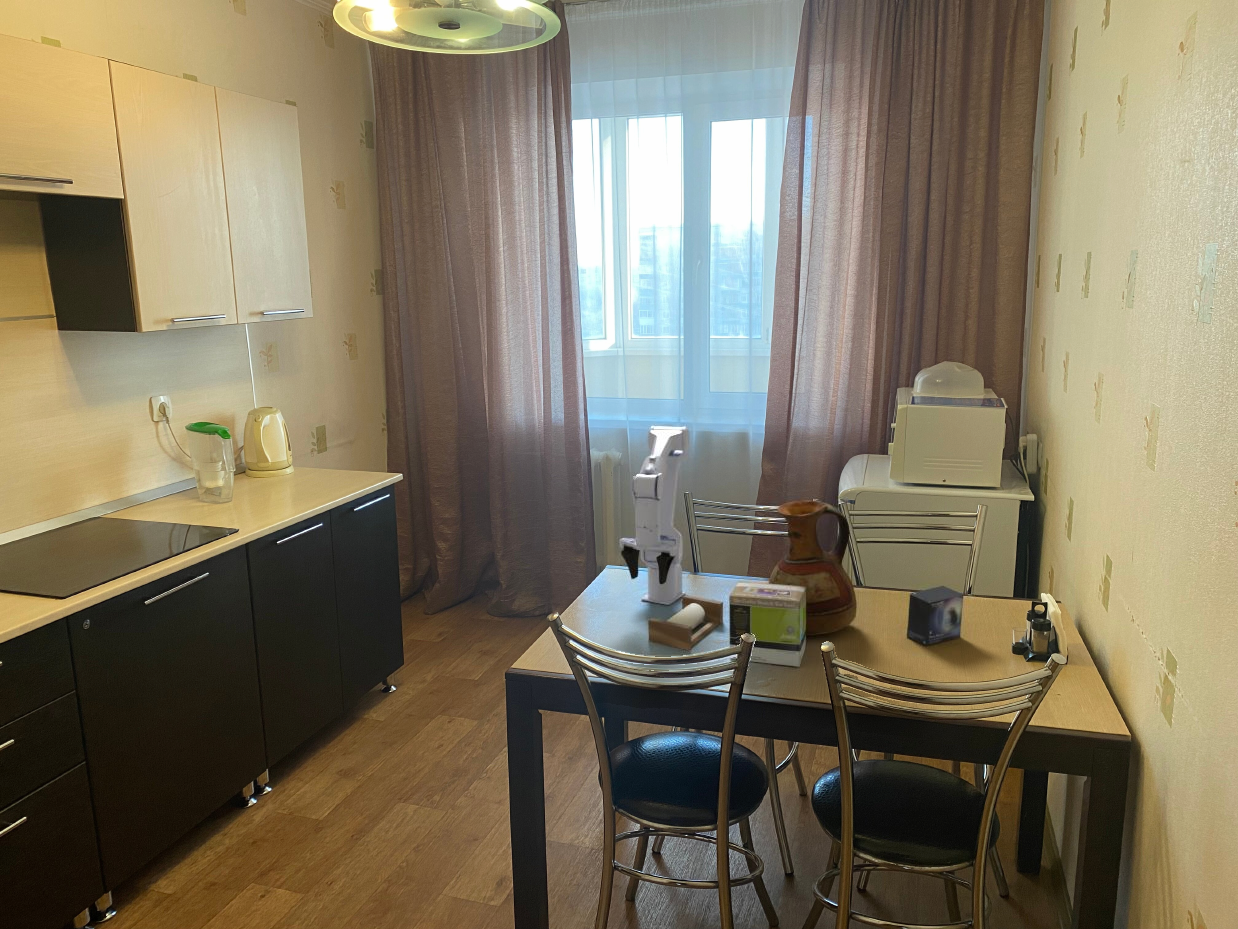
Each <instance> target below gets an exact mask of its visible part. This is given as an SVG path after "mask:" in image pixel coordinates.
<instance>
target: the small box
mask: <svg viewBox="0 0 1238 929" xmlns="http://www.w3.org/2000/svg"><path fill="white" fill-rule="evenodd" d="M964 596H965V595H964V593H961V592H959V591H957V590H955V589H951V588H949V587H948V586H944V585H941V586H937V587H932V588H928V589H924V590H920V591H915V592H911V593H909V602H908V617H907V618H908V619H907V629H906V630H907V631H906V638H909V639H911V640H913V641H915V642H917V643H918V644H921V645H923V646H925V647H928V646H933V645H936V644H940V643H943V642H948V641H951V640H955V639H960V638H961V631H962V630H961V629H962V618H963V617H962V616H963V605H964ZM959 637H960V638H959Z"/></svg>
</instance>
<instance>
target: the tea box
mask: <svg viewBox="0 0 1238 929" xmlns="http://www.w3.org/2000/svg"><path fill="white" fill-rule="evenodd" d="M728 601H729V602H728V603H729V606H728V608H729V612H728V613H729V616H728V618H729V620H728V621H729V625H728V626H729V641H728V642H729V648H730V647H734V646H737V645H739V644H740V638H741V635H743V634H745V633H752V634H754V635H755V638H756V641H755V644H754V647H753V650H752V656H751V661H750V662H752V663H754V662H755V663H763V664H771V665H772V664H773V665H779V666H787V667H789V666H790V667H798V668H800V666H801V663H802V660H803V656H804V655H805V654H804V653H805V650H806V636H807V635H806V587H804V586H792V585H779V584H769V583H763V582H752V581H751V582H750V581H741V580H740V581H739V580H738V582H736V585H735V587H734V588H733V590H732V591H731V593H730V594H729V600H728ZM729 659H730V660H736V657H733V658H730V657H729Z"/></svg>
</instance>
